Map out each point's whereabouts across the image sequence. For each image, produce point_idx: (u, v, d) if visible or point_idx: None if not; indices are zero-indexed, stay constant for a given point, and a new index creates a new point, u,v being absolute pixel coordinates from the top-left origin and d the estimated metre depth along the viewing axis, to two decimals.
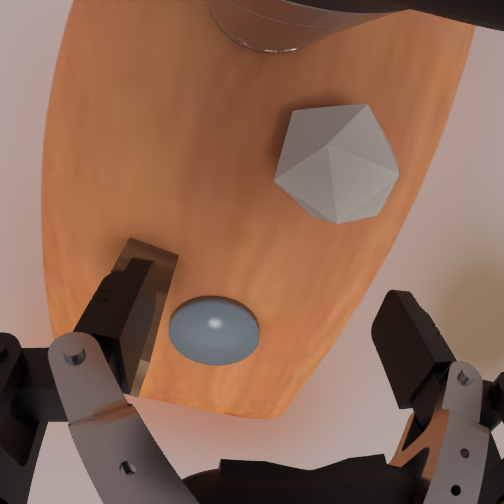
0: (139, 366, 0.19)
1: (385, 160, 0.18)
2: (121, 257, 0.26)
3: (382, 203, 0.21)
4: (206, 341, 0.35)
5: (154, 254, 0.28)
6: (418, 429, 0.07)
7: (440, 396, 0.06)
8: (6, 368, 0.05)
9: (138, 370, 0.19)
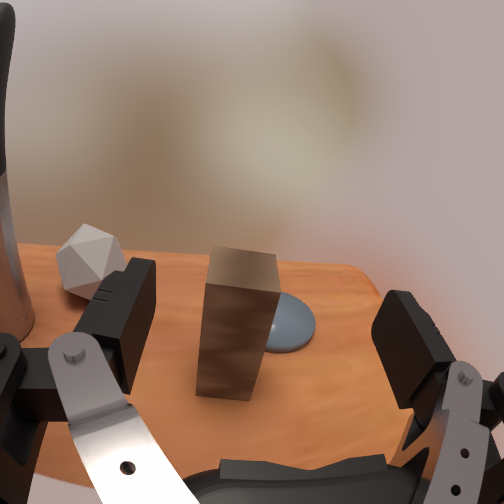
0: (222, 250, 0.25)
1: (78, 230, 0.34)
2: None
3: None
4: (282, 318, 0.37)
5: None
6: (418, 429, 0.07)
7: (440, 396, 0.06)
8: (6, 368, 0.05)
9: (229, 251, 0.25)
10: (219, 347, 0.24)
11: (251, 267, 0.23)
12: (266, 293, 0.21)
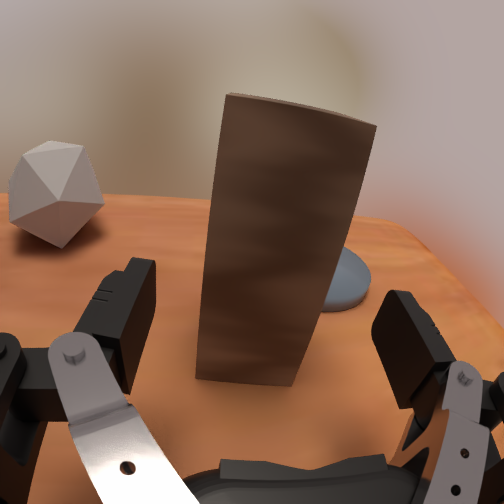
0: (249, 95, 0.13)
1: None
2: (199, 328, 0.14)
3: None
4: None
5: None
6: (418, 429, 0.07)
7: (440, 396, 0.06)
8: (6, 368, 0.05)
9: None
10: (245, 264, 0.12)
11: (307, 106, 0.12)
12: (350, 123, 0.09)
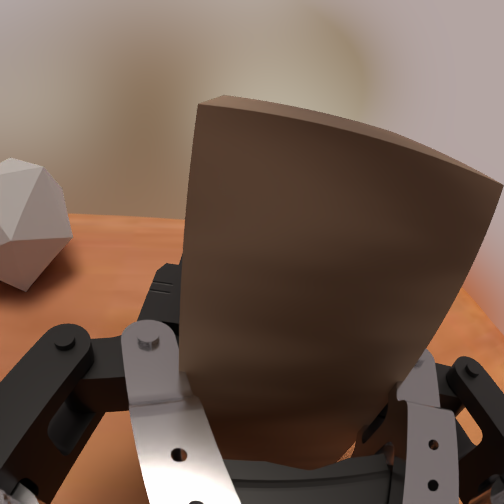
0: (253, 99, 0.07)
1: None
2: None
3: None
4: None
5: None
6: None
7: None
8: (78, 359, 0.05)
9: (274, 103, 0.08)
10: (246, 408, 0.07)
11: (362, 126, 0.06)
12: (466, 181, 0.04)
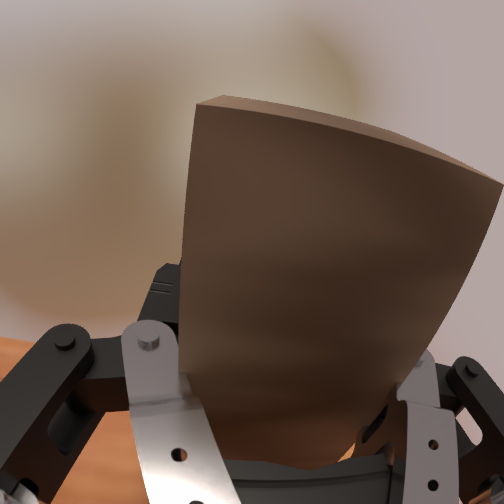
0: (253, 99, 0.07)
1: None
2: None
3: None
4: None
5: None
6: None
7: None
8: (78, 358, 0.05)
9: (274, 103, 0.08)
10: (246, 409, 0.07)
11: (361, 126, 0.06)
12: (466, 180, 0.04)
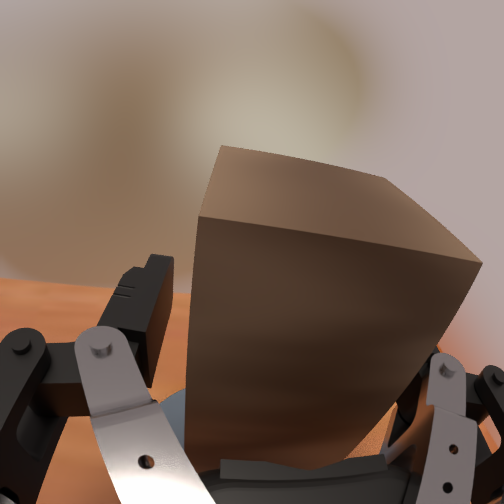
0: (250, 153, 0.08)
1: None
2: None
3: None
4: None
5: None
6: (403, 423, 0.07)
7: (423, 390, 0.06)
8: (32, 363, 0.05)
9: (270, 157, 0.08)
10: (243, 439, 0.07)
11: (354, 191, 0.07)
12: (445, 265, 0.05)
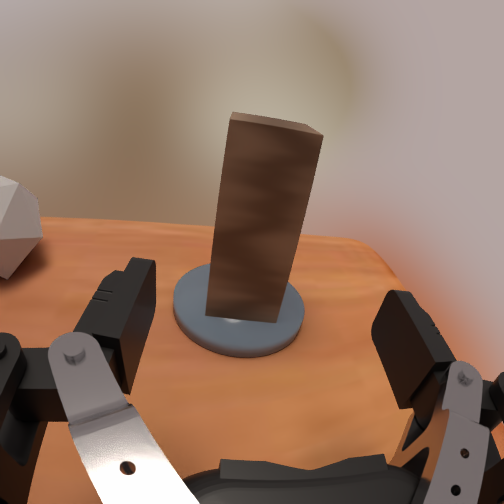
0: (244, 114, 0.19)
1: None
2: None
3: None
4: None
5: None
6: (418, 429, 0.07)
7: (440, 396, 0.06)
8: (6, 368, 0.05)
9: (252, 115, 0.19)
10: (241, 225, 0.18)
11: (282, 122, 0.18)
12: (305, 135, 0.16)
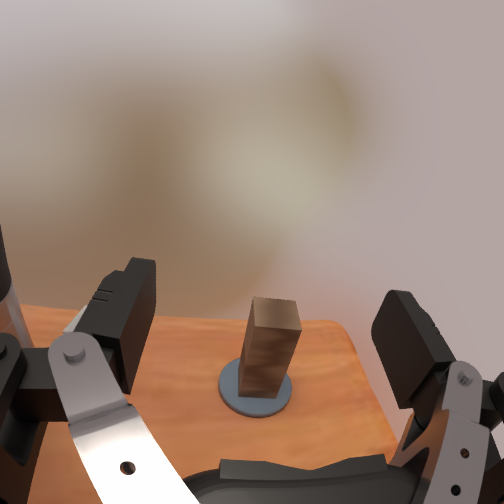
0: (260, 300, 0.36)
1: (81, 312, 0.38)
2: (241, 380, 0.37)
3: None
4: None
5: (239, 374, 0.40)
6: (418, 429, 0.07)
7: (440, 396, 0.06)
8: (6, 368, 0.05)
9: (265, 300, 0.36)
10: (259, 363, 0.35)
11: (281, 312, 0.35)
12: (292, 330, 0.33)
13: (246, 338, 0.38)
